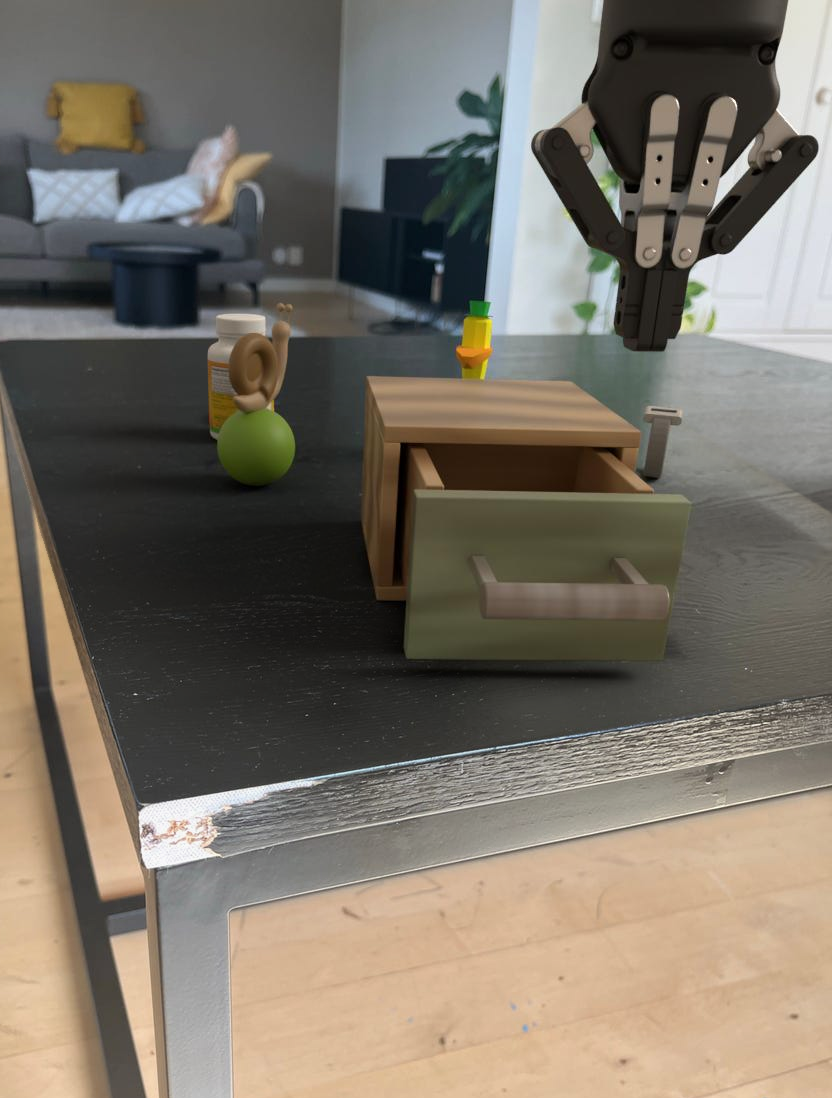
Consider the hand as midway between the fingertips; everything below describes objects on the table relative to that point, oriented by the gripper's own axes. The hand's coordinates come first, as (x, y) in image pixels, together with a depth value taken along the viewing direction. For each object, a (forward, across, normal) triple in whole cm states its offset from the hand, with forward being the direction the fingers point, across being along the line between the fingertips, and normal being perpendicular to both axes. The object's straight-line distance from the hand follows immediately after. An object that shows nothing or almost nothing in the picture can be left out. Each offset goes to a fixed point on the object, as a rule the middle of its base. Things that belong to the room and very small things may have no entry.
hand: (643, 348), depth 48 cm
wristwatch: (+13, +11, +24) cm, 30 cm away
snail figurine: (+13, -19, +21) cm, 31 cm away
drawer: (+12, -6, -6) cm, 15 cm away
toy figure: (+13, -3, +28) cm, 31 cm away
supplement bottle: (+13, -21, +35) cm, 42 cm away
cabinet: (+13, -6, +5) cm, 15 cm away
